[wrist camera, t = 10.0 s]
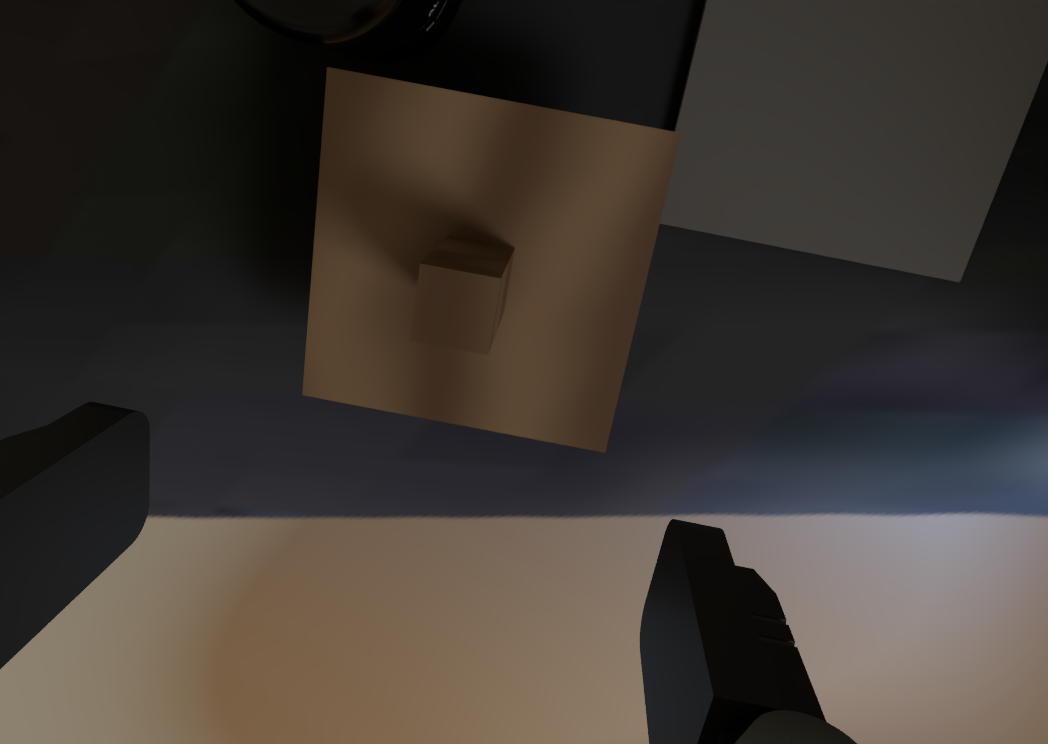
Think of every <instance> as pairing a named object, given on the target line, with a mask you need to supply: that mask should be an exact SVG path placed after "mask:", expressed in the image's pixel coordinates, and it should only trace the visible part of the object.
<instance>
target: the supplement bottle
mask: <svg viewBox="0 0 1048 744" xmlns="http://www.w3.org/2000/svg"><path fill="white" fill-rule="evenodd" d="M234 1H235V2H236V3H237V4H238V5H239V6H240V8H242V9H243V10H244V11H245V12H246V13H247V14H248V15H249V16H251V17H252V18H253V19H255V20H256V21H258V22H259V23H260V24H262V25H264V26H265V27H267V28H269V29H271V30H273V31H275V32H277V33H279V34H281V35H283V36H286V37H288V38H291V39H294V40H297V41H300V42H303V43H307V44H310V45H314V46H317V47H320V48H324V49H327V50H331V51H334V52H337V53H341V54H344V55H348V56H351V57H355V58H359V59H363V60H367V61H374V62H392V61H399V60H403V59H407V58H410V57H412V56H415V55H417V54H419V53H421V52H423V51H424V50H426V49H427V48H429V47H430V46H432V45H433V44H434V43H435V42H436V41H437V40H438V39H439V38H440V37H441V36H442V35H443V34H444V33H445V31H446V30H447V29H448V27H449V26H450V24H451V23H452V21H453V20H454V18H455V16H456V14H457V12H458V9H459V7H460V4H461V1H462V0H234Z"/></svg>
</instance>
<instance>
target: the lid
mask: <svg viewBox="0 0 1048 744" xmlns="http://www.w3.org/2000/svg"><path fill="white" fill-rule="evenodd" d="M680 136H681V133H679V132H674V131H668V130H663V129H658V128H652V127H647V126H641V125H636V124H631V123H625V122H620V121H615V120H609V119H604V118H599V117H593V116H588V115H583V114H577V113H572V112H567V111H561V110H556V109H551V108H545V107H540V106H534V105H529V104H524V103H518V102H513V101H508V100H502V99H497V98H492V97H486V96H481V95H476V94H470V93H465V92H460V91H454V90H449V89H444V88H438V87H433V86H427V85H422V84H417V83H411V82H406V81H401V80H395V79H390V78H385V77H379V76H374V75H369V74H363V73H358V72H353V71H347V70H342V69H336V68H331V67H327V76H326V89H325V102H324V116H323V129H322V142H321V155H320V169H319V182H318V195H317V208H316V222H315V235H314V248H313V261H312V275H311V288H310V301H309V314H308V328H307V341H306V354H305V367H304V381H303V394H302V395H305V396H310V397H315V398H320V399H326V400H331V401H336V402H341V403H347V404H352V405H357V406H362V407H368V408H373V409H378V410H384V411H389V412H394V413H399V414H405V415H410V416H415V417H420V418H426V419H431V420H436V421H441V422H447V423H452V424H457V425H462V426H468V427H473V428H478V429H483V430H489V431H494V432H499V433H504V434H510V435H515V436H520V437H525V438H531V439H536V440H541V441H546V442H552V443H557V444H562V445H568V446H573V447H578V448H583V449H589V450H594V451H599V452H604V453H605V451H606V447H607V443H608V439H609V434H610V430H611V426H612V422H613V418H614V413H615V409H616V405H617V401H618V397H619V392H620V388H621V384H622V380H623V376H624V371H625V367H626V363H627V359H628V355H629V350H630V346H631V342H632V338H633V334H634V329H635V325H636V321H637V317H638V312H639V308H640V304H641V300H642V296H643V291H644V287H645V283H646V279H647V275H648V270H649V266H650V262H651V258H652V254H653V249H654V245H655V241H656V237H657V233H658V228H659V224H660V220H661V216H662V211H663V207H664V203H665V199H666V195H667V190H668V186H669V182H670V178H671V174H672V169H673V165H674V161H675V157H676V153H677V148H678V144H679V140H680Z"/></svg>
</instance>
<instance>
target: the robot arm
mask: <svg viewBox="0 0 1048 744" xmlns="http://www.w3.org/2000/svg"><path fill="white" fill-rule="evenodd" d="M149 440H150V431H149V422H148V419H147V417H146V415H145V414H144V413H142V412H140V411H135V410H130V409H125V408H120V407H115V406H110V405H105V404H100V403H95V402H89V403H86V404H83V405H82V406H80V407H78V408H76V409H75V410H73V411H71V412H70V413H68V414H66V415H64V416H63V417H61V418H59V419H58V420H56V421H54V422H52V423H51V424H49V425H47V426H43V427H40V428H37V429H33V430H30V431H27V432H23V433H20V434H17V435H13V436H10V437H7V438H4V439H3V440H1V441H0V669H1V668H2V667H3V666H4V665H5V664H6V663H7V662H8V661H9V660H10V659H11V658H12V657H14V655H16V654H17V653H18V652H19V651H20V650H21V649H22V648H23V647H24V646H25V645H26V644H27V643H28V642H29V641H30V640H31V639H32V638H34V637H35V636H36V635H37V634H38V633H39V632H40V631H41V630H42V629H43V628H44V627H45V626H46V625H47V624H48V623H49V622H50V621H51V620H52V619H54V618H55V617H56V616H57V615H58V614H59V613H60V612H61V611H62V610H63V609H64V608H65V607H66V606H67V605H68V604H69V603H70V602H71V601H72V600H74V599H75V597H76V596H78V595H79V594H80V593H81V592H82V591H83V590H84V589H85V588H86V587H87V586H88V585H89V584H90V583H91V582H92V581H94V580H95V579H96V578H97V577H98V576H99V575H100V574H101V573H102V572H103V571H104V570H105V569H106V568H107V567H108V566H109V565H110V564H111V563H112V562H113V561H115V560H116V559H117V558H118V557H119V556H120V555H121V554H122V553H123V552H124V551H125V550H126V549H127V548H128V547H129V546H130V545H131V544H132V543H133V542H134V541H135V540H136V538H137V537H138V535H139V534H140V532H141V530H142V528H143V526H144V523H145V521H146V518H147V514H148V509H149ZM640 630H641V631H640V653H641V663H642V672H643V673H642V674H643V684H644V694H645V704H646V714H647V724H648V735H649V744H857V743H856V742H854V741H853V740H852V739H851V738H850V737H849V736H847V735H846V734H845V733H843V732H842V731H840V730H839V729H837V728H836V727H834V726H832V725H830V724H829V723H827V722H826V720H825V717H824V715H823V712H822V710H821V707H820V705H819V702H818V699H817V697H816V694H815V692H814V689H813V687H812V684H811V682H810V679H809V677H808V674H807V671H806V669H805V666H804V664H803V661H802V659H801V656H800V653H799V651H798V648H797V647H794V644H795V641H794V638H793V636H792V633H791V630H790V628H789V625H786V618H785V615H784V613H783V610H782V607H781V605H780V602H779V600H778V597H777V595H776V593H775V592H774V591H773V590H772V589H771V588H770V587H769V586H768V584H767V583H766V582H765V581H764V580H763V579H762V578H761V577H760V576H759V575H758V574H757V573H756V571H755V570H754V569H750V568H745V567H740V566H735V564H734V561H733V558H732V555H731V552H730V549H729V546H728V543H727V540H726V537H725V534H724V531H723V530H722V529H720V528H716V527H711V526H705V525H701V524H696V523H691V522H686V521H680V520H675V519H672V520H671V521H670V522H669V524H668V526H667V529H666V531H665V535H664V538H663V542H662V545H661V549H660V553H659V556H658V559H657V563H656V566H655V570H654V573H653V577H652V580H651V584H650V587H649V591H648V595H647V598H646V601H645V605H644V610H643V615H642V621H641V629H640Z"/></svg>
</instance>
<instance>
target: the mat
mask: <svg viewBox="0 0 1048 744" xmlns="http://www.w3.org/2000/svg"><path fill="white" fill-rule="evenodd" d="M1047 62H1048V0H705V4H704V8H703V12H702V16H701V20H700V24H699V29H698V33H697V37H696V41H695V45H694V49H693V53H692V58H691V62H690V66H689V70H688V74H687V78H686V82H685V86H684V91H683V95H682V99H681V103H680V107H679V111H678V115H677V120H676V124H675V128H674V132H679V133H681V136H680V140H679V144H678V148H677V153H676V157H675V161H674V165H673V169H672V174H671V178H670V182H669V186H668V190H667V195H666V199H665V203H664V207H663V211H662V216H661V220H660V224H665V225H670V226H675V227H680V228H685V229H690V230H695V231H701V232H706V233H711V234H716V235H721V236H726V237H731V238H736V239H741V240H746V241H752V242H757V243H762V244H767V245H772V246H777V247H782V248H787V249H792V250H797V251H803V252H808V253H813V254H818V255H823V256H828V257H833V258H838V259H843V260H849V261H854V262H859V263H864V264H869V265H874V266H879V267H884V268H889V269H894V270H900V271H905V272H910V273H915V274H920V275H925V276H930V277H935V278H940V279H945V280H951V281H956V282H960V280H961V278H962V275H963V273H964V270H965V268H966V265H967V263H968V260H969V258H970V255H971V253H972V250H973V248H974V245H975V243H976V240H977V238H978V235H979V233H980V230H981V228H982V225H983V223H984V220H985V218H986V215H987V213H988V210H989V208H990V205H991V203H992V200H993V198H994V195H995V193H996V190H997V188H998V185H999V183H1000V180H1001V177H1002V175H1003V172H1004V170H1005V167H1006V165H1007V162H1008V160H1009V157H1010V155H1011V152H1012V150H1013V147H1014V145H1015V142H1016V140H1017V137H1018V135H1019V132H1020V130H1021V127H1022V125H1023V122H1024V120H1025V117H1026V115H1027V112H1028V110H1029V107H1030V105H1031V102H1032V100H1033V97H1034V95H1035V92H1036V90H1037V87H1038V85H1039V82H1040V80H1041V77H1042V75H1043V72H1044V70H1045V67H1046V65H1047Z"/></svg>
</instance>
